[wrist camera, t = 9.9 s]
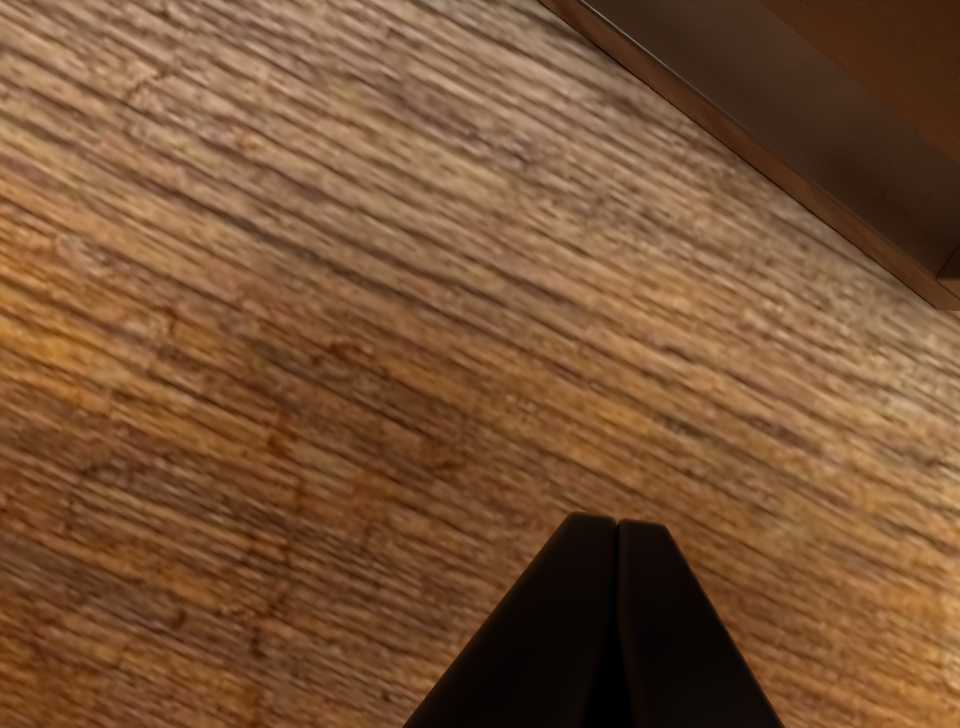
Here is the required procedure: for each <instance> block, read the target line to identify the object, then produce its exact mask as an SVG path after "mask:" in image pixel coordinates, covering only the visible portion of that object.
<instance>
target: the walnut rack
mask: <svg viewBox="0 0 960 728" xmlns="http://www.w3.org/2000/svg"><path fill="white" fill-rule="evenodd" d="M539 1H541V2H542V3H543V4H544V5H546V6H547V7H548V8H550V9H551V10H552V11H553V12H555V13H556V14H557V15H559V16H560V17H561V18H563V19H564V20H565V21H566V22H568V23H569V24H570V25H572V26H573V27H574V28H575V29H577V30H578V31H579V32H581V33H582V34H583V35H584V36H586V37H587V38H588V39H590V40H591V41H592V42H594V43H595V44H596V45H597V46H599V47H600V48H601V49H603V50H604V51H605V52H606V53H608V54H609V55H610V56H612V57H613V58H614V59H616V60H617V61H618V62H619V63H621V64H622V65H623V66H625V67H626V68H627V69H628V70H630V71H631V72H632V73H634V74H635V75H636V76H638V77H639V78H640V79H641V80H643V81H644V82H645V83H647V84H648V85H649V86H650V87H652V88H653V89H654V90H656V91H657V92H658V93H660V94H661V95H662V96H663V97H665V98H666V99H667V100H669V101H670V102H671V103H672V104H674V105H675V106H676V107H678V108H679V109H680V110H681V111H683V112H684V113H685V114H687V115H688V116H689V117H691V118H692V119H693V120H694V121H696V122H697V123H698V124H700V125H701V126H702V127H703V128H705V129H706V130H707V131H709V132H710V133H711V134H713V135H714V136H715V137H716V138H718V139H719V140H720V141H722V142H723V143H724V144H725V145H727V146H728V147H729V148H731V149H732V150H733V151H735V152H736V153H737V154H738V155H740V156H741V157H742V158H744V159H745V160H746V161H747V162H749V163H750V164H751V165H753V166H754V167H755V168H756V169H758V170H759V171H760V172H762V173H763V174H764V175H766V176H767V177H768V178H769V179H771V180H772V181H773V182H775V183H776V184H777V185H778V186H780V187H781V188H782V189H784V190H785V191H786V192H788V193H789V194H790V195H791V196H793V197H794V198H795V199H797V200H798V201H799V202H800V203H802V204H803V205H804V206H806V207H807V208H808V209H810V210H811V211H812V212H813V213H815V214H816V215H817V216H819V217H820V218H821V219H822V220H824V221H825V222H826V223H828V224H829V225H830V226H831V227H833V228H834V229H835V230H837V231H838V232H839V233H841V234H842V235H843V236H844V237H846V238H847V239H848V240H850V241H851V242H852V243H853V244H855V245H856V246H857V247H859V248H860V249H861V250H863V251H864V252H865V253H866V254H868V255H869V256H870V257H872V258H873V259H874V260H875V261H877V262H878V263H879V264H881V265H882V266H883V267H885V268H886V269H887V270H888V271H890V272H891V273H892V274H894V275H895V276H896V277H897V278H899V279H900V280H901V281H903V282H904V283H905V284H906V285H908V286H909V287H910V288H912V289H913V290H914V291H916V292H917V293H918V294H919V295H921V296H922V297H923V298H925V299H926V300H927V301H928V302H930V303H931V304H932V305H934V306H935V307H936V308H938V309H940V310H951V311H960V0H539Z"/></svg>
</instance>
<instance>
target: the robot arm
mask: <svg viewBox="0 0 960 728" xmlns="http://www.w3.org/2000/svg"><path fill="white" fill-rule="evenodd" d="M402 728H785V727H784V725H783V723H782V722H781V720H780V718H779V717H778V715H777V713H776V712H775V710H774V708H773V707H772V705H771V703H770V701H769V700H768V698H767V696H766V695H765V693H764V691H763V690H762V688H761V686H760V684H759V683H758V681H757V679H756V678H755V676H754V674H753V673H752V671H751V669H750V667H749V666H748V664H747V662H746V661H745V659H744V657H743V656H742V654H741V652H740V650H739V649H738V647H737V645H736V644H735V642H734V640H733V639H732V637H731V635H730V634H729V632H728V630H727V628H726V627H725V625H724V623H723V622H722V620H721V618H720V617H719V615H718V613H717V611H716V610H715V608H714V606H713V605H712V603H711V601H710V600H709V598H708V596H707V594H706V593H705V591H704V589H703V588H702V586H701V584H700V583H699V581H698V579H697V577H696V576H695V574H694V572H693V571H692V569H691V567H690V566H689V564H688V562H687V560H686V559H685V557H684V555H683V554H682V552H681V550H680V549H679V547H678V545H677V544H676V542H675V540H674V538H673V537H672V535H671V533H670V532H669V530H668V529H667V527H666V526H664V525H663V524H661V523H658V522H650V521H643V520H636V519H629V518H623V519H621V520H620V521H619V522H618V524H617V525H616V521H615V519H614V518H613V517H611V516H608V515H600V514H593V513H586V512H579V511H575V512H572V513H570V514H569V515H568V516H567V517H566V518H565V519H564V520H563V522H562V523H561V524H560V526H559V527H558V528H557V529H556V531H555V532H554V533H553V535H552V536H551V537H550V538H549V540H548V541H547V542H546V544H545V545H544V546H543V547H542V549H541V550H540V551H539V553H538V554H537V555H536V556H535V558H534V559H533V560H532V561H531V563H530V564H529V565H528V567H527V568H526V569H525V570H524V572H523V573H522V574H521V576H520V577H519V578H518V579H517V581H516V582H515V583H514V585H513V586H512V587H511V588H510V590H509V591H508V592H507V593H506V595H505V596H504V597H503V599H502V600H501V601H500V602H499V604H498V605H497V606H496V608H495V609H494V610H493V611H492V613H491V614H490V615H489V617H488V618H487V619H486V620H485V622H484V623H483V624H482V626H481V627H480V628H479V629H478V631H477V632H476V633H475V634H474V636H473V637H472V638H471V640H470V641H469V642H468V643H467V645H466V646H465V647H464V649H463V650H462V651H461V652H460V654H459V655H458V656H457V658H456V659H455V660H454V661H453V663H452V664H451V665H450V666H449V668H448V669H447V670H446V672H445V673H444V674H443V675H442V677H441V678H440V679H439V681H438V682H437V683H436V684H435V686H434V687H433V688H432V690H431V691H430V692H429V693H428V695H427V696H426V697H425V699H424V700H423V701H422V702H421V704H420V705H419V706H418V707H417V709H416V710H415V711H414V713H413V714H412V715H411V716H410V718H409V719H408V720H407V722H406V723H405V724H404V725H403V727H402Z"/></svg>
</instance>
